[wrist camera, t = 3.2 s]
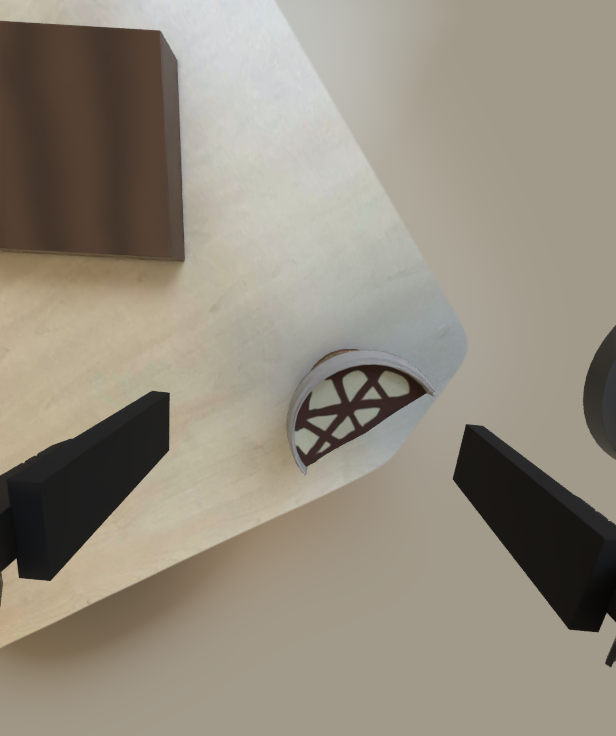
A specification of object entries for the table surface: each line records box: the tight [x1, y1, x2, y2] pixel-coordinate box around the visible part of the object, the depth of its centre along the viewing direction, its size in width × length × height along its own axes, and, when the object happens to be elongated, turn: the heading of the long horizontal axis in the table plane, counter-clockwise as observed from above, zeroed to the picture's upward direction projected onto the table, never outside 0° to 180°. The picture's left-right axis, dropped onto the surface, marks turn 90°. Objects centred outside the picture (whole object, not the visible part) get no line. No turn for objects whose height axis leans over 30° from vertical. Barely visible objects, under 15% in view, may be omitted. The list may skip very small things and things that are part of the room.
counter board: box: [0, 21, 184, 261], centre depth 26 cm, size 20×16×3 cm
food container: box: [286, 349, 435, 475], centre depth 27 cm, size 12×6×10 cm, turn 124°
